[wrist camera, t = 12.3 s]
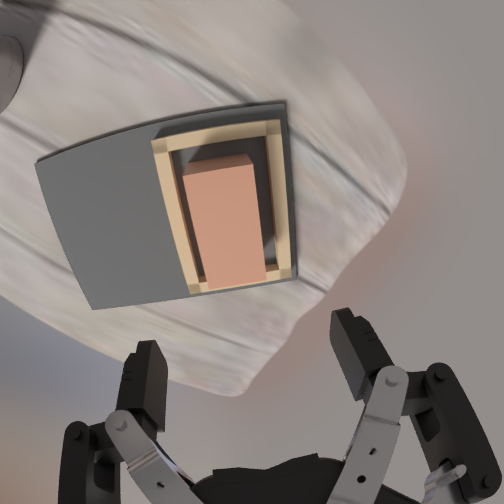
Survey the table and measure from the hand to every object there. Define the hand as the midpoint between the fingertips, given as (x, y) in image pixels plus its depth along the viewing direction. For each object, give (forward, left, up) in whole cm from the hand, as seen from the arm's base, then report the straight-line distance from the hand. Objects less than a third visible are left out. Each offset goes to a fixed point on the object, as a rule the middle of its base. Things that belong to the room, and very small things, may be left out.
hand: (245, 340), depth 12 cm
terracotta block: (0, 0, -16) cm, 16 cm away
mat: (-6, 0, -16) cm, 17 cm away
